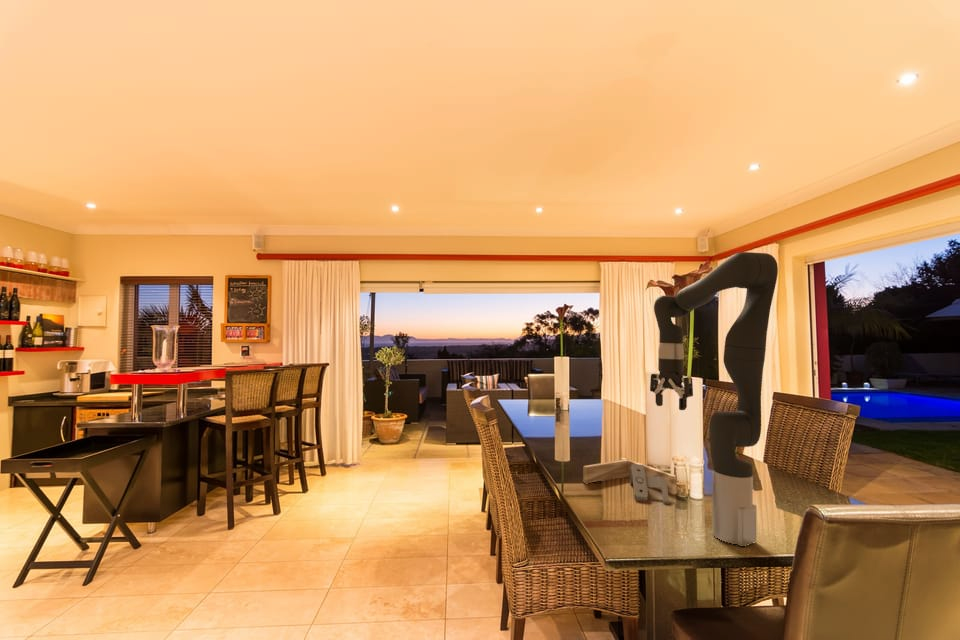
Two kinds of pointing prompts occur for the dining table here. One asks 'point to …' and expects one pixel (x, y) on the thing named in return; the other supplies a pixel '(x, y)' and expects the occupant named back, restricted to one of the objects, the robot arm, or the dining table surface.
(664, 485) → the bracket
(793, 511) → the dining table surface
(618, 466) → the wooden corner joint
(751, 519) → the robot arm
